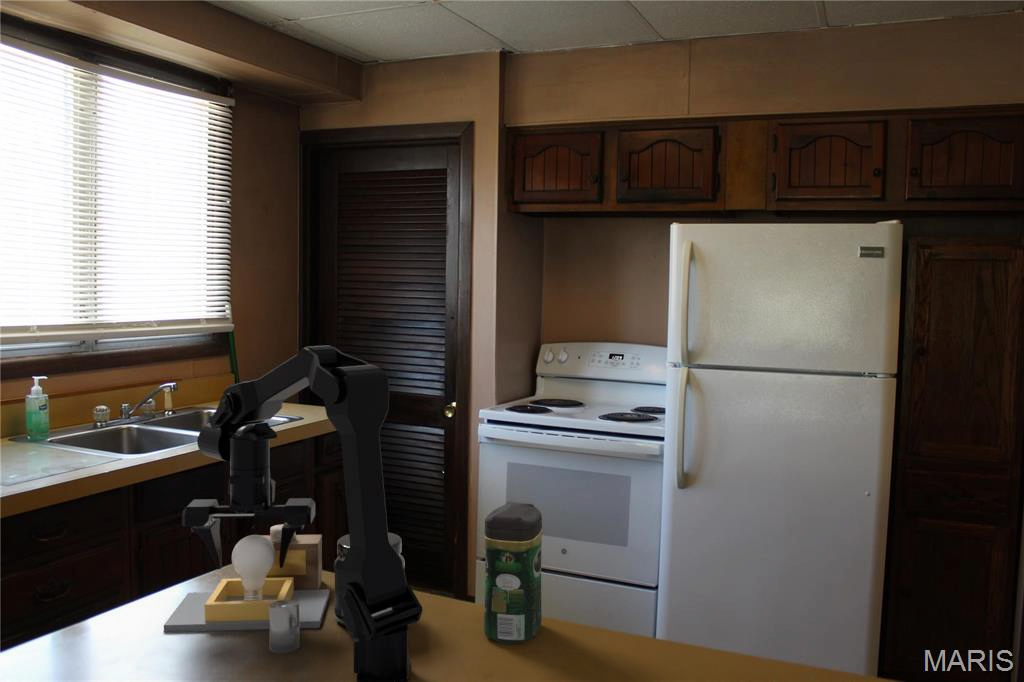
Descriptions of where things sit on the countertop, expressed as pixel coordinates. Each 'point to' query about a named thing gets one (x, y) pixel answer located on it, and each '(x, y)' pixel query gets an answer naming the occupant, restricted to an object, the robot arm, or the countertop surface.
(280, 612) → the silver metal cylinder
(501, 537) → the coffee jar
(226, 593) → the board
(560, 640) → the countertop surface
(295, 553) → the lamp unit
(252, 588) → the lightbulb
